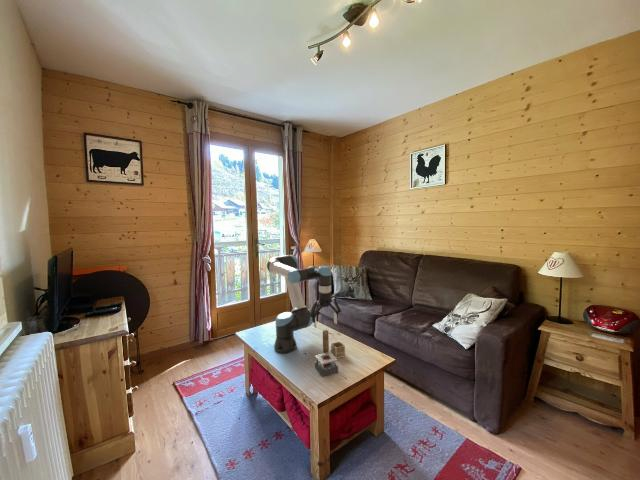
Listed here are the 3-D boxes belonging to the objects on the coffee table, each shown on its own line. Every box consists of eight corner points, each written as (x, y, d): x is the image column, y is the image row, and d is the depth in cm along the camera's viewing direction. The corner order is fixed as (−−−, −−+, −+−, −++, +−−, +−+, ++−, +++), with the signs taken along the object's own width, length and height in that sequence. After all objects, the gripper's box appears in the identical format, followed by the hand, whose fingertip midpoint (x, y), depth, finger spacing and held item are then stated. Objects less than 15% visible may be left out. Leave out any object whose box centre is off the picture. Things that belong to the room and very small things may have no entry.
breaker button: (322, 362, 158) (322, 359, 158) (327, 361, 159) (327, 358, 159) (324, 365, 155) (324, 361, 155) (329, 363, 157) (329, 360, 156)
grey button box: (315, 367, 160) (314, 355, 160) (330, 363, 164) (330, 351, 164) (321, 377, 151) (321, 364, 150) (337, 372, 155) (337, 359, 154)
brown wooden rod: (322, 358, 171) (321, 330, 169) (327, 356, 172) (326, 329, 170) (324, 361, 168) (324, 333, 166) (329, 359, 169) (329, 332, 167)
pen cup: (331, 353, 176) (331, 343, 175) (340, 351, 179) (340, 341, 178) (335, 358, 170) (335, 348, 169) (345, 356, 173) (345, 345, 172)
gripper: (307, 296, 155) (308, 331, 158) (346, 290, 165) (346, 323, 168) (303, 292, 162) (304, 326, 165) (340, 287, 172) (340, 319, 175)
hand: (325, 325), depth 166 cm, fingers open, 13 cm apart
